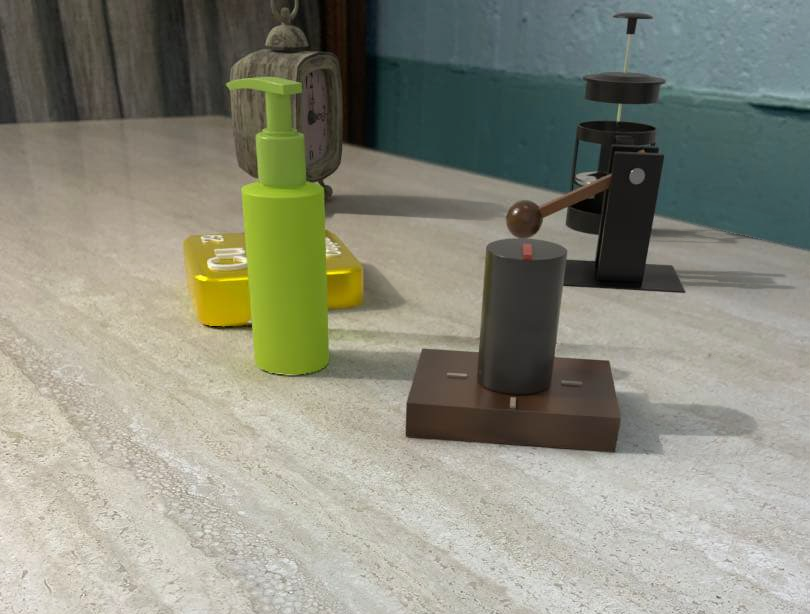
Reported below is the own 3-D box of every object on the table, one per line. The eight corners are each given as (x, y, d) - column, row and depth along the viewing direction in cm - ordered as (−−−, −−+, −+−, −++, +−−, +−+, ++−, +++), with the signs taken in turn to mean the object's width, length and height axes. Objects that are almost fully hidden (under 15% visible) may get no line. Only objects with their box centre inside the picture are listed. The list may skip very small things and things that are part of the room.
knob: (477, 363, 63) (487, 231, 58) (549, 367, 63) (565, 235, 57) (475, 392, 59) (485, 252, 53) (552, 396, 58) (570, 256, 53)
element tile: (368, 317, 78) (368, 264, 76) (200, 330, 74) (193, 274, 72) (332, 270, 90) (331, 222, 87) (185, 279, 86) (179, 229, 84)
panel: (604, 391, 66) (610, 358, 64) (615, 452, 57) (621, 415, 56) (421, 379, 67) (422, 346, 65) (405, 436, 58) (406, 400, 57)
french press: (558, 222, 109) (583, 9, 97) (633, 225, 109) (668, 11, 96) (567, 247, 100) (596, 14, 87) (650, 250, 99) (691, 16, 86)
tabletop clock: (300, 220, 108) (289, -20, 94) (235, 213, 110) (215, -22, 96) (344, 196, 119) (340, -20, 105) (284, 191, 121) (273, -22, 108)
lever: (513, 249, 85) (499, 214, 83) (514, 239, 88) (500, 205, 86) (656, 186, 80) (644, 147, 79) (652, 178, 83) (640, 141, 82)
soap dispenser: (280, 339, 73) (263, 71, 62) (344, 359, 70) (338, 79, 59) (230, 360, 69) (202, 77, 58) (295, 381, 66) (279, 86, 55)
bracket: (557, 296, 84) (574, 155, 77) (555, 270, 92) (570, 139, 85) (682, 304, 83) (711, 161, 76) (670, 276, 91) (695, 144, 84)
